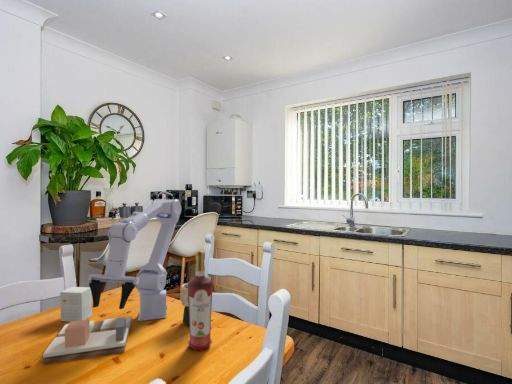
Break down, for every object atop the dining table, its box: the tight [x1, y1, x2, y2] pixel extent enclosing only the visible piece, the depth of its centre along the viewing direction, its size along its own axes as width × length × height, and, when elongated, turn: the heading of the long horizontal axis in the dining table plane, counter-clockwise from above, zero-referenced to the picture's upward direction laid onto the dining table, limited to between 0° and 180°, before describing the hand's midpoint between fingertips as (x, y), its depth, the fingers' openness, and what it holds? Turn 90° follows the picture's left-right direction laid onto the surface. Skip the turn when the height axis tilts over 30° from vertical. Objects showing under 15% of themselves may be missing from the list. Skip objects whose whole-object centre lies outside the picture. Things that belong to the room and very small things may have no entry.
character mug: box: [180, 282, 189, 325], centre depth 101 cm, size 11×7×13 cm, turn 164°
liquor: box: [187, 250, 214, 351], centre depth 86 cm, size 7×7×28 cm
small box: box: [59, 286, 93, 323], centre depth 104 cm, size 8×6×10 cm
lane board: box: [41, 315, 133, 365], centre depth 90 cm, size 20×21×2 cm
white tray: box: [42, 317, 129, 358], centre depth 85 cm, size 20×9×5 cm, turn 107°
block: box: [65, 319, 91, 347], centre depth 84 cm, size 5×5×5 cm
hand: (108, 307), depth 88 cm, fingers open, 7 cm apart
